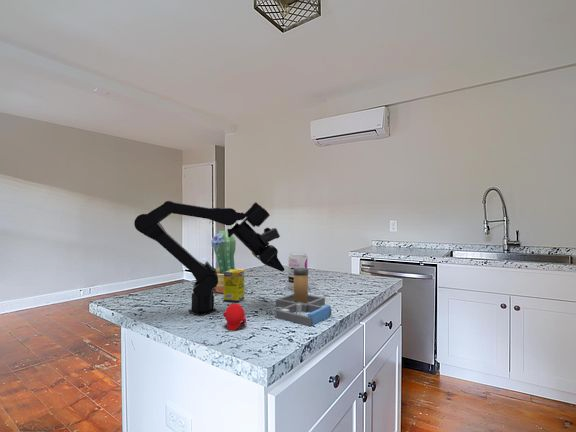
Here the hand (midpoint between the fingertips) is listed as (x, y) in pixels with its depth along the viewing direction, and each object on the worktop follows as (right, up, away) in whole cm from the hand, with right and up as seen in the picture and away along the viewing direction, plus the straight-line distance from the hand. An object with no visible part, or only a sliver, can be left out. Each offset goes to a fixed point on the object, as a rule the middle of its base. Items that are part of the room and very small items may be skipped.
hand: (280, 268), depth 109 cm
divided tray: (+7, -13, -5) cm, 16 cm away
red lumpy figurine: (-12, -13, -20) cm, 27 cm away
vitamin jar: (+7, -13, +2) cm, 15 cm away
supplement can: (+7, -13, +27) cm, 31 cm away
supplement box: (-17, -13, +7) cm, 23 cm away
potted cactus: (-23, -13, +23) cm, 35 cm away
